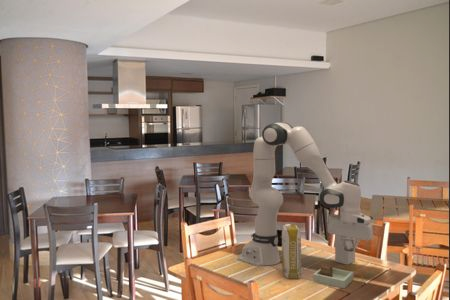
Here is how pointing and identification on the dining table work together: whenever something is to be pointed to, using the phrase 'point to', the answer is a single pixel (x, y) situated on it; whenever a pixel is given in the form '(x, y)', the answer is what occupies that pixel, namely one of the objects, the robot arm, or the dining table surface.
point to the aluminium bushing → (348, 244)
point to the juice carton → (291, 251)
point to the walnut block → (327, 270)
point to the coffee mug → (279, 235)
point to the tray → (334, 278)
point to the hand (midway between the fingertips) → (349, 246)
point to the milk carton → (343, 252)
